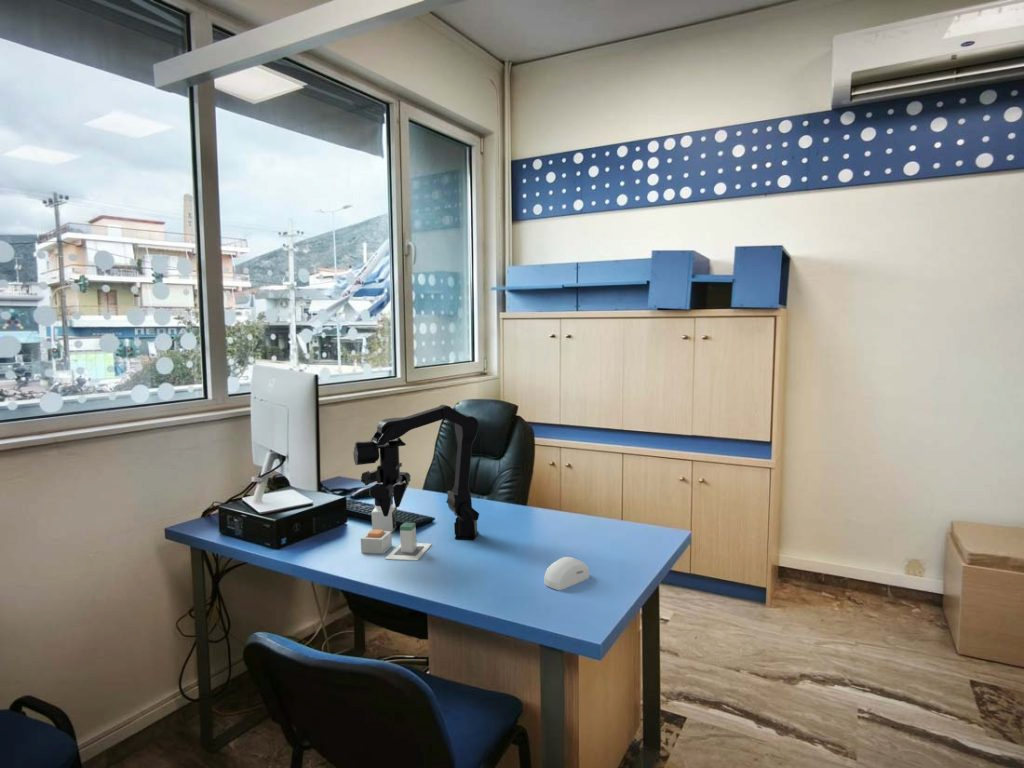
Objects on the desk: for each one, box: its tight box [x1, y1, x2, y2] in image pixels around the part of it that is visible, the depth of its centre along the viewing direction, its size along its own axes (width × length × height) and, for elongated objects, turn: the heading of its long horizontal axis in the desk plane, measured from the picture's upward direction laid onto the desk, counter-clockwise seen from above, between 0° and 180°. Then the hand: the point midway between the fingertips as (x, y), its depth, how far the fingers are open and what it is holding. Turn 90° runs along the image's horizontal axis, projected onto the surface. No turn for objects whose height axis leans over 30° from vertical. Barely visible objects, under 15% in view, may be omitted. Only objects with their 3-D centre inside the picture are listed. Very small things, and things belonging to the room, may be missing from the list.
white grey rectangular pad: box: [384, 542, 433, 562], centre depth 186 cm, size 10×13×1 cm
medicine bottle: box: [371, 498, 398, 533], centre depth 207 cm, size 7×7×12 cm
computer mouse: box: [543, 556, 590, 591], centre depth 162 cm, size 6×13×6 cm, turn 130°
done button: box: [367, 529, 384, 538], centre depth 189 cm, size 4×4×2 cm
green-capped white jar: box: [399, 522, 417, 553], centre depth 185 cm, size 4×4×8 cm
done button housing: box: [360, 530, 393, 555], centre depth 189 cm, size 7×7×4 cm
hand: (391, 511), depth 186 cm, fingers open, 9 cm apart
